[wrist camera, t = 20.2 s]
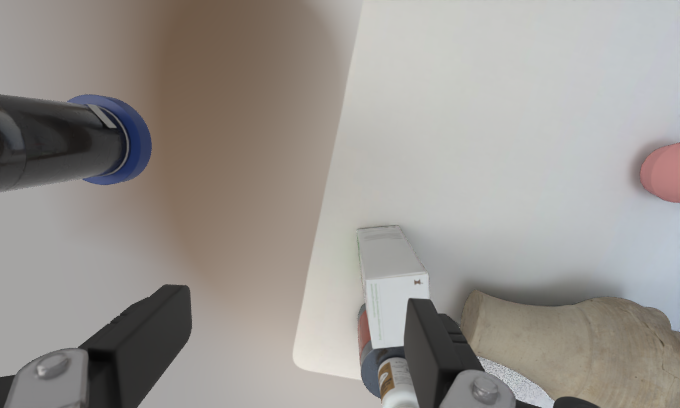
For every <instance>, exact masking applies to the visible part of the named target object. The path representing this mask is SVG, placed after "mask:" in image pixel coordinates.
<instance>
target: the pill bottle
mask: <svg viewBox="0 0 680 408" xmlns="http://www.w3.org/2000/svg"><path fill="white" fill-rule="evenodd" d="M378 379H379V388H380V395H381V403H382V408H419V405H418V401H417V397H416V394H415V390H414V386H413V383H412V379H411V375H410V372H409V368H408V364H407V361H406V359H403V358H399V357H395V358H390V359H387V360H386V361H384V362H383V363H382V364H381V365H380V367H379V370H378Z"/></svg>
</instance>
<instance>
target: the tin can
mask: <svg viewBox="0 0 680 408" xmlns="http://www.w3.org/2000/svg"><path fill="white" fill-rule="evenodd" d="M358 341H359V356H360V366H361V377H362V380H363V383H364V385H365V386H366V388H367V389H368V390H369V391H370V392H371V393H372V394H373V395H375V396H377V397H378V398H380V399H381V395H380V388H379V379H378V370H379V367H380V365H381V364H382V363H383V362H384V361H386V360H387V359H390V358H395V357H399V358H403V359H406V357H405V352H404V346H397V347H388V348H377V349H373V348H372V342H371V336H370V330H369V323H368V317H367V311H366V305H365V303H364V305H363V306H362V307H361V309H360V311H359V314H358Z"/></svg>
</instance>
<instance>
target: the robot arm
mask: <svg viewBox="0 0 680 408" xmlns="http://www.w3.org/2000/svg"><path fill="white" fill-rule="evenodd" d="M130 153H131V140H130V135H129V132H128V130H127V128H126V126H125V125H124V123H123V122H122V120H121V119H120V118H119V117H118V116H117V115H116V114H114V113H113V112H112V111H110V110H108V109H107V108H104V107H102V106H98V105H91V104H76V103H69V102H60V101H51V100H43V99H35V98H26V97H18V96H9V95H1V94H0V192H4V191H11V190H17V189H23V188H29V187H35V186H41V185H46V184H54V183H60V182H65V181H72V180H78V179H84V178H90V177H96V176H107V175H111V174H114V173H116V172H118V171H119V170H121V169H122V168H123V167H124V166H125V164H126V163H127V161H128V159H129V156H130ZM191 329H192V316H191V300H190V290H189V287H188V286H186V285H168V284H166V285H163V286H162V287H161V288H160V289H158V290H157V291H156V292H155V293H154V294H152V295H151V296H150V297H147V298H145V299H143V300H141V301H139V302H137V303H135V304H132V305H131V306H130V307H128V308H127V309H126V310H124V311H123V312H122V313H121V314H120V316H117V317H116V318H114V319H113V320H112V321H111V323H110V324H107V325H106V326H105V327H103V328H102V329H101V330H99V331H98V332H97V333H96V334H94V335H93V336H92V337H91V338H89V339H88V340H87V341H86V342H84V343H83V344H82V345H80V346H79V347H78V348H67V349H61V350H57V351H53V352H50V353H48V354H45V355H43V356H40V357H38V358H36V359H34V360H32V361H31V362H29V363H28V364H26V365H25V366H24V367H22V369H20V370H19V371H18V372H17V374H16V375H12V376H5V377H0V408H137V407H138V405H139V404H140V403H141V401H142V400H143V399H144V398H145V396H146V395H147V394H148V392H149V391H150V390H151V389H152V387H153V386H154V385H155V383H156V382H157V381H158V379H159V378H160V377H161V375H162V374H163V373H164V371H165V370H166V369H167V368H168V366H169V365H170V364H171V362H172V361H173V360H174V358H175V357H176V356H177V354H178V353H179V352H180V351H181V349H182V348H183V347H184V345H185V344H186V343H187V341H188V339H189V336H190V334H191ZM404 352H405V357H406V361H407V364H408V368H409V372H410V375H411V379H412V383H413V386H414V390H415V394H416V397H417V401H418V405H419V408H541V407H538V406H534V405H531V404H528V403H525V402H522V401H519V400H517V399H516V398H515V396H514V393H513V392H512V390H511V389H510V388H509V387H508V386H507V385H506V384H505V383H504V382H503V381H502V380H500V379H499V378H497V377H495V376H494V375H492V374H489V373H487V372H485V370H484V368H483V367H482V365H481V363H480V362H479V360H478V358H477V357H476V355H475V353H474V352H473V350H472V348H471V346H470V345H469V344H468V341H467V340H466V338H465V336H464V335H463V333H462V331H461V330H460V328H459V326H458V325H457V323H456V322H455V321H454V320H452V319H451V318H450V317H449V316H447V315H446V314H438V313H437V311H436V309H435V307H434V305H433V303H432V301H431V300H430V299H420V298H409V299H408V303H407V311H406V321H405V330H404ZM553 408H601V407H599V406H597V405H595V404H593V403H591V402H589V401H586V400H583V399H580V398H576V397H571V396H564V397H560V398H558V399H556V400H555V402H554V406H553Z"/></svg>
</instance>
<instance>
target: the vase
mask: <svg viewBox="0 0 680 408" xmlns="http://www.w3.org/2000/svg"><path fill="white" fill-rule="evenodd" d="M460 330H461V331H462V333H463V335H464V336H465V338H466V340H467V341H468V344H469V345H470V346H471V348H472V350H473V352H474V353H475V355H476V356H479V357H482V358H485V359H488V360H491V361H493V362H496V363H498V364H501V365H503V366H505V367H507V368H510V369H512V370H514V371H516V372H518V373H520V374H521V375H523V376H524V377H526V378H527V379H529V380H531V381H532V382H534V383H535V384H537V385H538V386H539V387H541V388H542V389H543V390H544V391H545V392H546V393H547V394H548V395H549V397H550V398H551V399H553V400H554V401H555V400H556V399H558V398H560V397H564V396H571V397H576V398H580V399H583V400H586V401H589V402H591V403H593V404H595V405H597V406H599V407H601V408H680V332H677V331H673V330H671V324H670V321H669V319H668V318H667V316H666V315H665V314H664V313H663V312H661V311H660V310H658V309H655V308H651V307H643V306H641V305H639V304H637V303H635V302H632V301H630V300H627V299H622V298H617V297H597V298H592V299H588V300H585V301H583V302H579V303H577V304H574V305H563V306H557V307H550V306H534V305H526V304H519V303H514V302H510V301H506V300H503V299H499V298H496V297H493V296H490V295H487V294H485V293H483V292H481V291H479V290H473V291H472V292H471V293H470V295H469V297H468V298H467V301H466V303H465V305H464V308H463V312H462V316H461V324H460Z"/></svg>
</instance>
